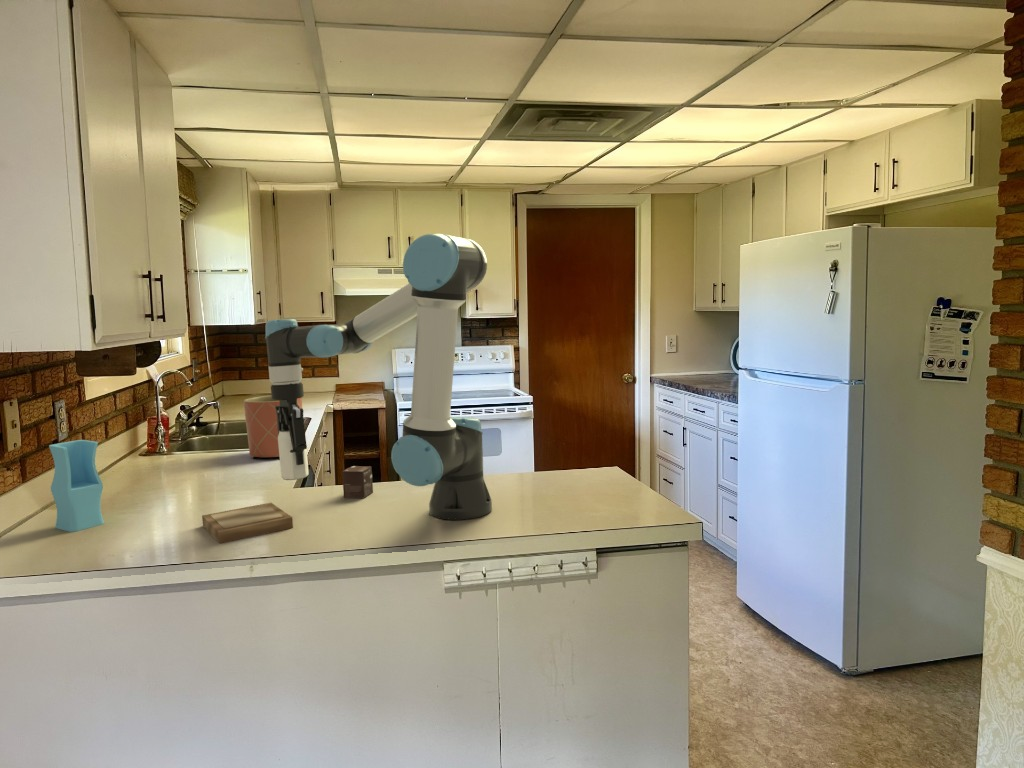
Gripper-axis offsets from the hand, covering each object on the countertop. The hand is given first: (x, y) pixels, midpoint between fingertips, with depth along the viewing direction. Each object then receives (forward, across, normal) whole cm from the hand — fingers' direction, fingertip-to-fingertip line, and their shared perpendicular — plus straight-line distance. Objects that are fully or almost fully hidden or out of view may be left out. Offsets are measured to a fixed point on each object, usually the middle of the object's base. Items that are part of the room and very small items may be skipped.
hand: (295, 475), depth 171 cm
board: (+9, -4, +13) cm, 17 cm away
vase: (+8, +25, +44) cm, 52 cm away
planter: (+8, +74, -18) cm, 76 cm away
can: (+1, 0, 0) cm, 1 cm away
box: (+10, +4, -18) cm, 20 cm away
